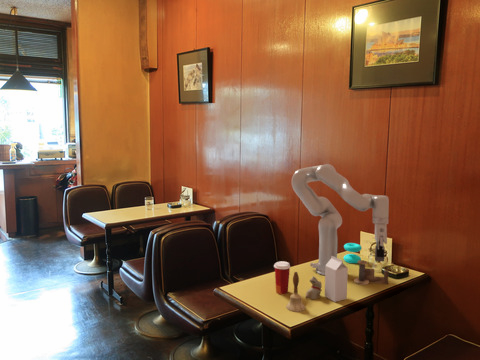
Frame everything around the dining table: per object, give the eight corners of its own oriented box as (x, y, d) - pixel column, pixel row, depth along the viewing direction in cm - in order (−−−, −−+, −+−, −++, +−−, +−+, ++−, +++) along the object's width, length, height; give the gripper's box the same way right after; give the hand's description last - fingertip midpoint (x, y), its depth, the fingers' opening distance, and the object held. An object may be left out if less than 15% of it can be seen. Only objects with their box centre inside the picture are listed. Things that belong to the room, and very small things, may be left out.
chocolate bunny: (323, 299, 177) (323, 278, 175) (305, 299, 177) (306, 278, 176) (320, 294, 182) (321, 273, 181) (304, 294, 182) (304, 273, 181)
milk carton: (334, 302, 173) (336, 261, 171) (324, 296, 180) (325, 257, 177) (346, 299, 177) (348, 259, 174) (336, 293, 183) (337, 254, 181)
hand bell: (283, 309, 167) (283, 273, 165) (290, 301, 174) (291, 267, 172) (300, 313, 163) (301, 277, 161) (308, 306, 170) (309, 271, 168)
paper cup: (291, 289, 187) (291, 262, 185) (288, 296, 180) (288, 267, 178) (275, 287, 190) (276, 260, 188) (271, 294, 183) (272, 265, 181)
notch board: (359, 281, 197) (359, 270, 196) (358, 278, 202) (359, 266, 201) (388, 284, 194) (389, 272, 193) (387, 280, 199) (387, 269, 198)
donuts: (360, 242, 231) (362, 247, 221) (359, 258, 232) (362, 264, 222) (343, 242, 232) (344, 246, 223) (342, 258, 234) (344, 263, 224)
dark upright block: (383, 261, 194) (384, 246, 193) (375, 260, 195) (376, 245, 194) (383, 259, 197) (383, 244, 196) (374, 258, 198) (375, 243, 197)
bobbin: (354, 284, 194) (355, 263, 193) (353, 279, 201) (354, 258, 199) (369, 285, 192) (370, 264, 191) (368, 280, 199) (368, 259, 198)
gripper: (390, 224, 185) (390, 261, 187) (385, 216, 201) (385, 251, 203) (374, 223, 187) (373, 260, 189) (370, 216, 203) (370, 250, 205)
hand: (379, 255), depth 196 cm, fingers closed on dark upright block, 3 cm apart
